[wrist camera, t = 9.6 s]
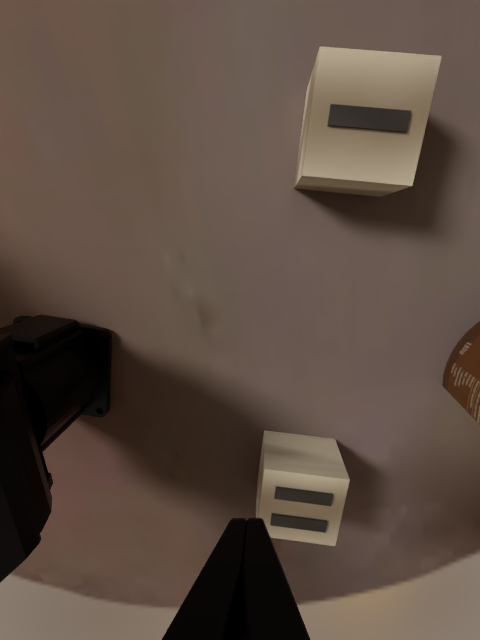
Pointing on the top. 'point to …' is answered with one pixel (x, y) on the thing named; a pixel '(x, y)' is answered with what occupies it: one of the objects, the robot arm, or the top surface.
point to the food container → (465, 372)
